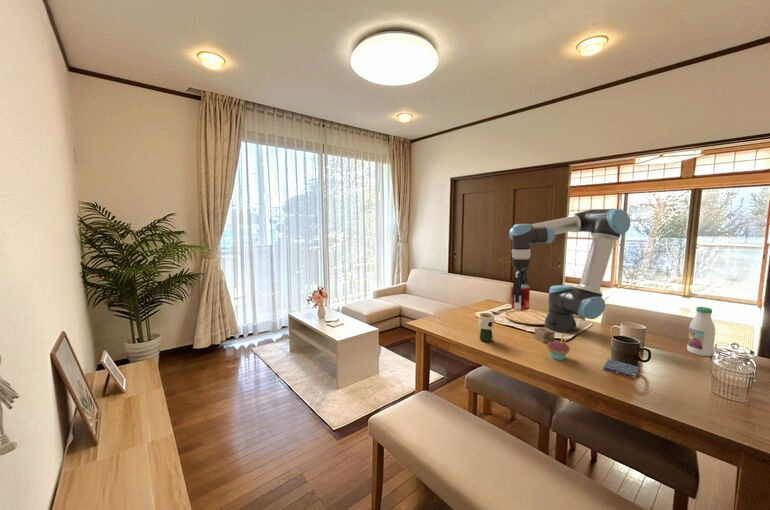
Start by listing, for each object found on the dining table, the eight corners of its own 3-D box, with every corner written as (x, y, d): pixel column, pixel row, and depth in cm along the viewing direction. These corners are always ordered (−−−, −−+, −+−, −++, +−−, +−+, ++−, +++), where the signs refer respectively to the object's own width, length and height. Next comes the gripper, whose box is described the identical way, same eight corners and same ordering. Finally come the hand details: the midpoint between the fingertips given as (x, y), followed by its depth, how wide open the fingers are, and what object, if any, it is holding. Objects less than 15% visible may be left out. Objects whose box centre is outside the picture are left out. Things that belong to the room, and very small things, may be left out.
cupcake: (567, 355, 131) (568, 328, 130) (570, 364, 124) (571, 336, 122) (545, 352, 135) (546, 326, 133) (546, 360, 127) (547, 333, 126)
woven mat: (639, 370, 118) (639, 365, 118) (635, 381, 111) (636, 376, 110) (606, 361, 125) (606, 357, 125) (601, 371, 118) (601, 366, 118)
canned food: (525, 305, 143) (525, 282, 141) (532, 310, 135) (532, 286, 133) (508, 305, 143) (509, 283, 142) (514, 311, 136) (514, 287, 134)
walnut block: (545, 337, 151) (545, 327, 150) (554, 341, 145) (554, 331, 145) (534, 338, 150) (534, 328, 149) (543, 343, 144) (543, 333, 143)
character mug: (487, 345, 143) (488, 319, 141) (474, 341, 148) (474, 316, 146) (497, 338, 151) (498, 313, 149) (484, 334, 156) (484, 310, 154)
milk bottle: (704, 349, 132) (709, 306, 129) (717, 357, 125) (722, 311, 122) (682, 347, 135) (687, 304, 132) (693, 355, 127) (698, 310, 125)
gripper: (518, 254, 146) (518, 299, 149) (505, 260, 130) (504, 311, 133) (535, 255, 142) (534, 302, 145) (523, 262, 126) (522, 314, 129)
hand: (520, 306), depth 139 cm, fingers closed on canned food, 8 cm apart
